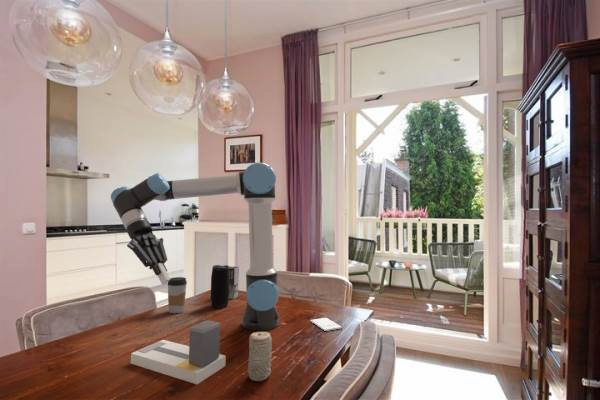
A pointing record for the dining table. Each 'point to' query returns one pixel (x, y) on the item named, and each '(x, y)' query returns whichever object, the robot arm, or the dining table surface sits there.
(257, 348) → the carving
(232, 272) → the coffee box
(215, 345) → the switch tab
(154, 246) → the robot arm
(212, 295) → the portable speaker
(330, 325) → the external hard drive
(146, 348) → the switch panel
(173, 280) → the coffee cup
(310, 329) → the dining table surface
